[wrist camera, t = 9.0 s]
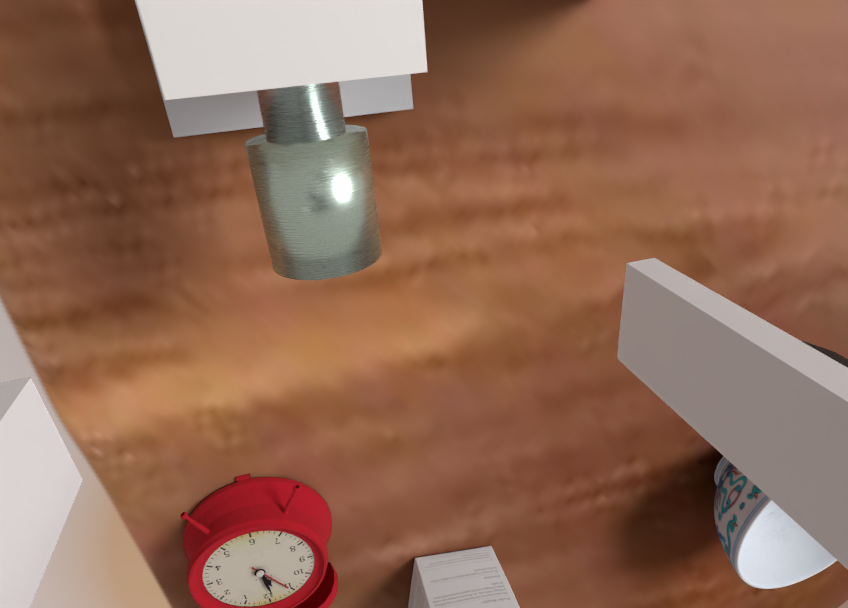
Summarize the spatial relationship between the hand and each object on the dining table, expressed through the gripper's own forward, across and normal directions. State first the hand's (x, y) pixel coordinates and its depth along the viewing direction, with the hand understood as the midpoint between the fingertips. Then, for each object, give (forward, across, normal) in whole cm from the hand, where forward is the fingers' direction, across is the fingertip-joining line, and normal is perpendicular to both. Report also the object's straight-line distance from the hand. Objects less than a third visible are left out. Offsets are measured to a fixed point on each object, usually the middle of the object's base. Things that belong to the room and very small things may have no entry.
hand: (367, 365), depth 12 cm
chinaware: (+20, +36, -33) cm, 53 cm away
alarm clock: (+21, -8, -27) cm, 35 cm away
